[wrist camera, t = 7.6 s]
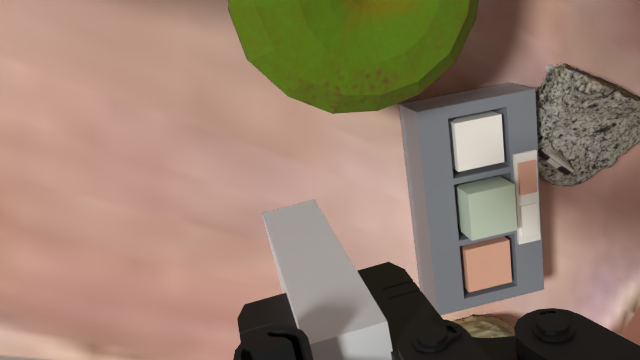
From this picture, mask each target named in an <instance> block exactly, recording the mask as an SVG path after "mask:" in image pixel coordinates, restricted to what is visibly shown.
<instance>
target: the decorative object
mask: <svg viewBox="0 0 640 360" xmlns="http://www.w3.org/2000/svg"><path fill="white" fill-rule="evenodd" d="M453 322H455V323H458V324H459V325H461V326H462V327H463V328H465V329H466V330H467V331H468V332H469V334H470V335H471V336H472V337H478V338H494V337H507V336H515V333H514V328H513V327H512V326H511V325H509V324H508V323H506V322H504V321H502V320H500V319H498V318H495V317H494V316H493V315H491V314H486V315H485V316H480V315H479V316H478V317H476V316H470V317H468V318H465V319H459V320H455V321H453Z"/></svg>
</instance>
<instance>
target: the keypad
mask: <svg viewBox="0 0 640 360" xmlns="http://www.w3.org/2000/svg"><path fill="white" fill-rule="evenodd" d="M489 110H490V111H493V112H496V113H499V114H502V130H503V146H504V162H502V163H498V164H493V165H488V166H484V167H479V168H474V169H470V170H465V171H460V172H458V171H456V170H455V169H453V168H452V159H451V148H450V137H449V126H448V119H449V118H454V117H459V116H464V115H469V114H474V113H479V112H484V111H489ZM399 111H400V120H401V128H402V137H403V146H404V154H405V163H406V172H407V180H408V189H409V198H410V206H411V215H412V224H413V232H414V241H415V250H416V259H417V267H418V276H419V285H420V291H422V293H423V294H424V295H425V297H426V298H427V299H428V300H429V302H430V303H431V304H432V306H433V307H434V308H435V310H436V311H437V312H438V313H439V315H444V314H448V313H452V312H456V311H460V310H464V309H468V308H472V307H476V306H480V305H483V304H487V303H491V302H495V301H499V300H503V299H507V298H511V297H515V296H519V295H523V294H527V293H531V292H535V291H539V290H543V289H544V275H543V253H542V230H541V208H540V185H539V163H538V140H537V118H536V95H535V89H534V88H530V87H525V86H521V85H516V84H512V83H505V84H500V85H494V86H489V87H484V88H479V89H474V90H469V91H464V92H458V93H453V94H448V95H443V96H438V97H433V98H427V99H422V100H417V101H412V102H407V103H402V104H399ZM498 176H500V177H502V178H504V179H506V180H508V181H510V182H511V183H513V184H515V197H516V215H517V230H516V231H512V232H507V233H503V234H499V235H494V236H490V237H486V238H482V239H477V240H473V241H472V240H470V239H469V238H468V237H467V236H466V235H464V234H463V233H462V232H461V231H460V230H459V224H458V213H457V201H456V190H455V186H457V185H461V184H466V183H470V182H475V181H480V180H484V179H489V178H493V177H498ZM502 236H504V237H506V238H507V239H508V240H509V242H510V258H511V274H512V282H510V283H506V284H502V285H498V286H494V287H490V288H486V289H481V290H477V291H473V292H468V291H467V290H466V289H465V288H464V287H463V280H462V269H461V258H460V247H459V246H463V245H467V244H472V243H476V242H480V241H485V240H489V239H493V238H497V237H502Z"/></svg>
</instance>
